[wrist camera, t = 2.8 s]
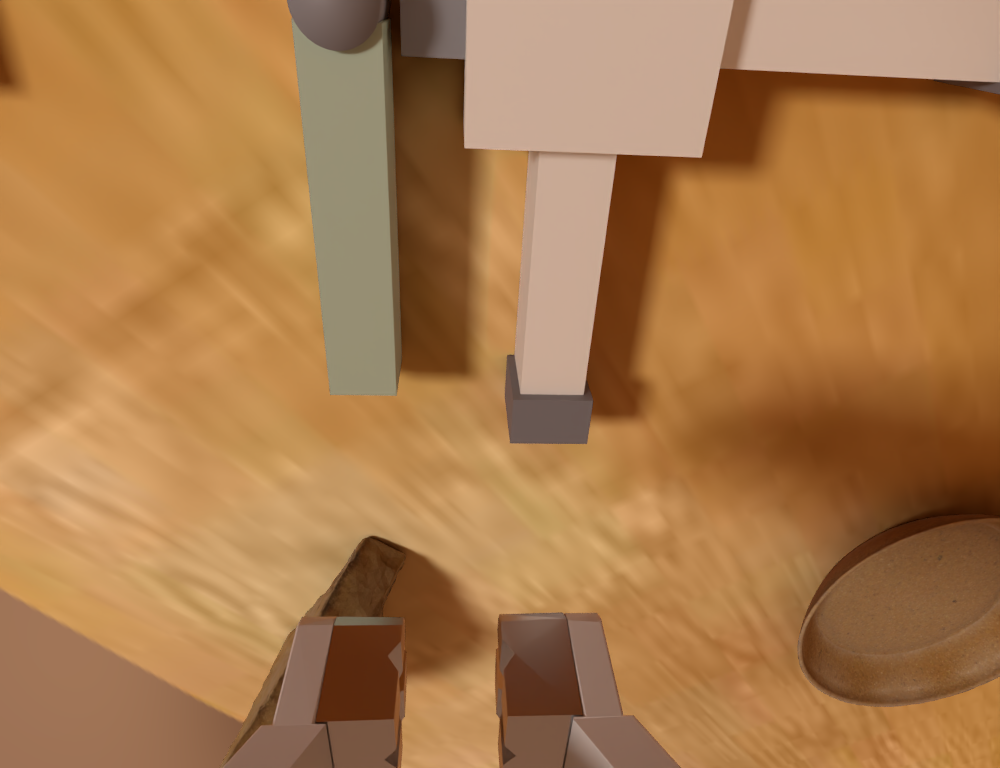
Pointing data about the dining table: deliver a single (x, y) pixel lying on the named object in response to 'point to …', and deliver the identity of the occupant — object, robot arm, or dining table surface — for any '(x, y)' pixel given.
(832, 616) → the plant saucer
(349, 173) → the hinged leg
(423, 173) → the dining table surface
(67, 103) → the dining table surface
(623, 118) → the stool base
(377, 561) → the rock
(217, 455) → the dining table surface
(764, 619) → the dining table surface
